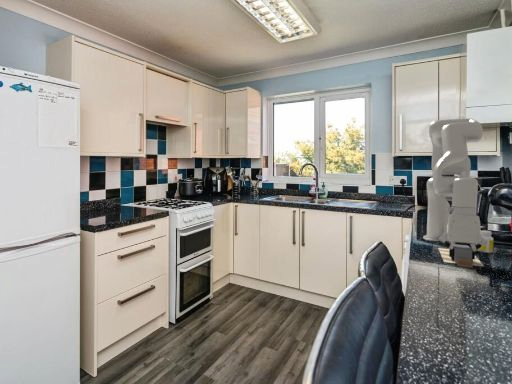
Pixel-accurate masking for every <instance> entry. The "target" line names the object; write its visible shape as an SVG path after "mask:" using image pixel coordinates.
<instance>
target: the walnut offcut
mask: <svg viewBox="0 0 512 384" xmlns="http://www.w3.org/2000/svg"><path fill="white" fill-rule="evenodd" d="M456 264H457V266H458V267H459V268H470V269H473V268H474V267H473V266H474V265H472V262H471V260H470V259H460V258H457V263H456Z"/></svg>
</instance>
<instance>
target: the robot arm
mask: <svg viewBox="0 0 512 384" xmlns="http://www.w3.org/2000/svg"><path fill="white" fill-rule="evenodd" d="M483 130H484V129H483V126H482V124H481V123H480V122H479V121H478V120H476V119H474V118H451V119H450V118H447V119H438V120H435V121H432V122H431V123H430V124H429V126H428V135H429V138H430V141H431V144H432V145H431V146H432V153H431V172H432V177H430V178H429V179H428V180H427V181H426V190H427V191H426V193H427V219H426V220H427V221H426V222H427V223H426V234H425V235H423V237H422V238H423V239H424V240H425V241H435V242H442V243H443V244H445V246H447V247H448V249H449V257H451V259H452V260H454V253H455V250H454V245H455V244H458V243H459V244H469V247H470V248H471V249H472V262H473V259H475V256H476V252H477V249H479V248H480V247H481V246H484V245H485V244H487V241H486V240H485V239H484V238H483V237H482V236H481V220H480V216H479V215H477V208H478V207H477V206H478V188H479V181H478V179H476V178H474V177H471V176H470V175H471V170H472V169H471V160H470V157H469V151H468V143H478V142H479V141H481V139H482V138H483V135H484V131H483ZM443 175H444V176H443ZM445 175H448V176H445ZM449 175H451V176H449ZM453 175H454V176H453ZM455 175H456V176H455ZM445 197H451V204H450V203H449V201H448V200H447V199H446V198H445ZM480 240H481V242H480Z"/></svg>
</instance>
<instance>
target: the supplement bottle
mask: <svg viewBox="0 0 512 384" xmlns="http://www.w3.org/2000/svg"><path fill="white" fill-rule="evenodd" d="M481 236H482V237H483V238H484V239H485V240H486V241H487V244H485V245H484V246H481V247H480V248H479V249H477V250H476V252H479V253H480V252H481V253H489V254H491V253H493V252H494V237H492V231H490V230H483V229H482V230H481ZM480 242H481V240H480Z"/></svg>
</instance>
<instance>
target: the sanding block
mask: <svg viewBox="0 0 512 384" xmlns="http://www.w3.org/2000/svg"><path fill="white" fill-rule="evenodd" d="M454 250H455V253H454V261H455V262H457V258H460V259H470V260H471V262H472V249H471V246H470V245H467V244H466V245H465V244H457V243H455V245H454Z"/></svg>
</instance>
